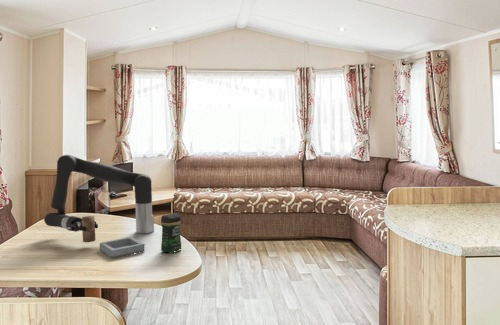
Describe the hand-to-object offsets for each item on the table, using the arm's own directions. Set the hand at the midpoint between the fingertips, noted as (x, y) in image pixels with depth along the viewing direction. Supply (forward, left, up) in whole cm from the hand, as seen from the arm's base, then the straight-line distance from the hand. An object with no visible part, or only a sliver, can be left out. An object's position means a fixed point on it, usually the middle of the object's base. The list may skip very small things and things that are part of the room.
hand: (91, 227), depth 212 cm
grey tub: (-9, +16, -10) cm, 21 cm away
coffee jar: (-28, +31, -11) cm, 43 cm away
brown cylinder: (+1, -2, -7) cm, 8 cm away
